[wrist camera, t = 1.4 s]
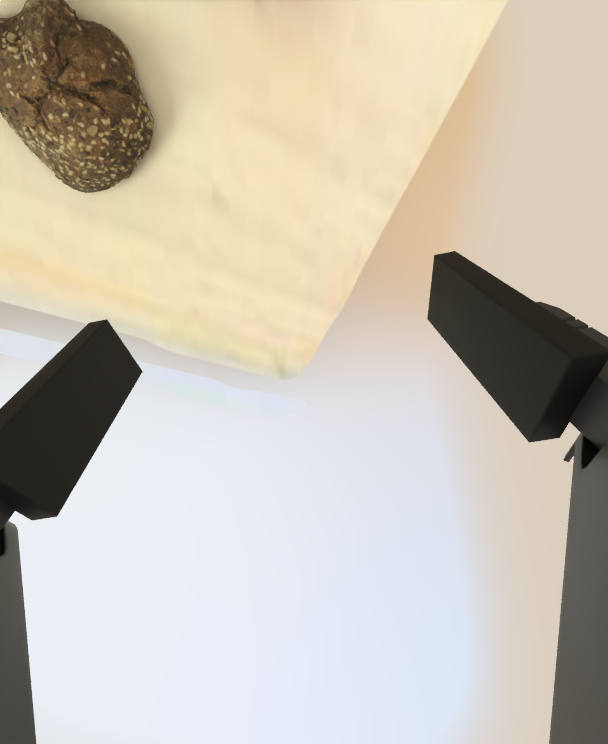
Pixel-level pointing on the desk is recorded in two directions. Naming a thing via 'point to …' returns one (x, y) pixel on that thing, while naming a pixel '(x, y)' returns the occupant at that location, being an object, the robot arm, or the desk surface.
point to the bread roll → (72, 95)
